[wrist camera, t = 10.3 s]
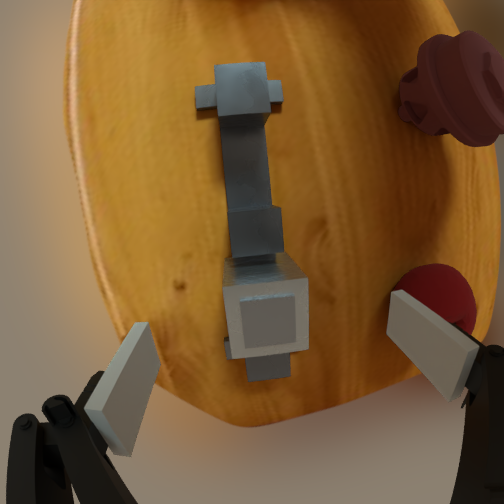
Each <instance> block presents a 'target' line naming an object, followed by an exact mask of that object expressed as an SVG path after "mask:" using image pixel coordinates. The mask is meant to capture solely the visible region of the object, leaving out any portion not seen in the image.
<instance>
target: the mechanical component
mask: <svg viewBox="0 0 504 504" xmlns="http://www.w3.org/2000/svg"><path fill="white" fill-rule="evenodd" d="M399 93H400V99H401V102H402V105H401V106H400V107H399V109H398V114H399V117H400V118H401V119H402V120H403V121H405V122H409V121H412V122H413V123H414V124H415V125H416V126H417V127H418V128H419V129H420V130H421V131H423V132H424V133H427V134H429V135H433V136H438V135H443V134H449V133H451V134H452V135H453V136H454V137H455V138H456V139H457V140H458V141H460V142H462V143H463V144H465V145H468V146H471V147H481V146H488V145H491V144H492V143H494V142H495V141H496V139H497V137H498V136H499V134H504V59H503V58H502V56H501V55H500V54H499V52H498V51H497V50H496V49H495V48H494V47H493V46H492V44H491V43H489V42H488V41H487V40H486V39H485V38H484V37H482V36H481V35H479V34H478V33H476V32H473V31H464V32H463V33H460V34H459V35H457V36H455V37H451V36H448V35H443V34H439V35H435V36H433V37H431V38H430V39H428V40H427V41H425V42H424V43H423V44H422V45H421V47H420V48H419V51H418V56H417V67H415V68H413V69H411V70H409V71H408V72H406V73H405V74H404V75H403V76H402V78H401V80H400V84H399Z"/></svg>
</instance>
